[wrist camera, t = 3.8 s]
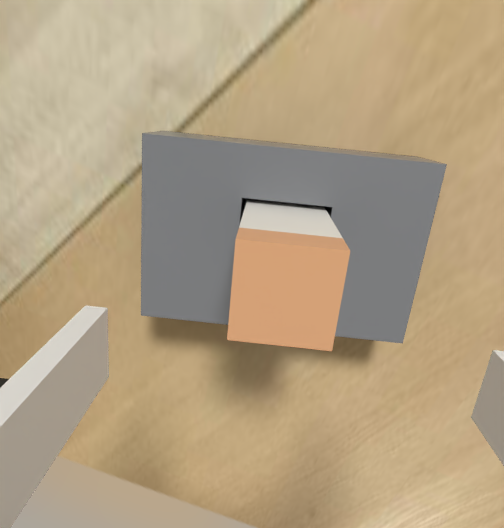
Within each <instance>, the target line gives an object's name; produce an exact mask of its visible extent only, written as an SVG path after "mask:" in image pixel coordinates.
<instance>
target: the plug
mask: <svg viewBox="0 0 504 528" xmlns="http://www.w3.org/2000/svg"><path fill="white" fill-rule="evenodd" d="M349 256H350V249H349V248H348V246H347V244H346V243H345V241H344V239H343V237H342V236H341V234H340V232H339V231H338V229H337V227H336V226H335V224H334V222H333V221H332V219H331V217H330V216H329V214H328V212H327V211H326V209H325V207H324V206H317V205H307V204H298V203H288V202H278V201H269V200H259V199H249V198H248V199H247V202H246V206H245V209H244V212H243V216H242V219H241V222H240V226H239V229H238V233H237V236H236V240H235V252H234V263H233V275H232V287H231V298H230V310H229V322H228V334H227V340H232V341H241V342H251V343H260V344H269V345H279V346H288V347H297V348H307V349H316V350H325V351H332V349H333V343H334V338H335V332H336V327H337V322H338V316H339V311H340V305H341V300H342V294H343V289H344V283H345V278H346V272H347V267H348V262H349Z"/></svg>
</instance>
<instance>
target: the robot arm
mask: <svg viewBox="0 0 504 528" xmlns="http://www.w3.org/2000/svg"><path fill="white" fill-rule="evenodd" d="M108 377H109V362H108V308H104V307H94V306H84V307H83V308H82V309H81V310H80V311H79V312H78V313H77V314H76V315H75V316H74V317H73V318H72V319H71V320H70V321H69V322H68V323H67V324H66V325H65V326H64V327H63V328H62V329H61V330H60V331H59V332H57V333H56V334H55V335H54V336H53V337H52V338H51V339H50V340H49V341H48V342H47V343H46V344H45V345H44V346H43V347H42V348H41V349H40V350H39V351H38V352H37V353H36V354H35V355H34V356H33V357H32V358H31V359H30V360H29V361H28V362H26V363H25V364H24V365H23V366H22V367H21V368H20V369H19V370H18V371H17V372H16V373H15V374H14V375H13V376H12V377H11V378H10V379H4V378H0V528H11V526H12V525H13V523H14V522H15V520H16V519H17V517H18V516H19V514H20V512H21V511H22V509H23V508H24V506H25V505H26V503H27V502H28V500H29V499H30V497H31V496H32V494H33V492H34V491H35V489H36V488H37V486H38V485H39V483H40V481H41V480H42V479H43V477H44V476H45V474H46V473H47V471H48V470H49V468H50V466H51V465H52V463H53V462H54V460H55V459H56V457H57V456H58V454H59V453H60V451H61V450H62V448H63V446H64V445H65V443H66V442H67V440H68V439H69V437H70V436H71V434H72V433H73V431H74V430H75V428H76V426H77V425H78V423H79V422H80V420H81V419H82V417H83V416H84V414H85V413H86V411H87V410H88V408H89V406H90V405H91V403H92V402H93V400H94V399H95V397H96V396H97V394H98V393H99V391H100V390H101V388H102V386H103V385H104V383H105V382H106V380H107V379H108ZM471 418H472V419H473V421H474V422H475V424H476V425H477V427H478V428H479V430H480V431H481V433H482V434H483V436H484V437H485V439H486V440H487V442H488V443H489V445H490V446H491V448H492V449H493V451H494V452H495V454H496V455H497V457H498V458H499V460H500V461H501V463H502V464H503V466H504V351H497V350H493V351H492V354H491V357H490V360H489V363H488V366H487V370H486V373H485V376H484V379H483V382H482V385H481V388H480V391H479V394H478V397H477V401H476V404H475V407H474V410H473V413H472V416H471Z"/></svg>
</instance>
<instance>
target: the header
mask: <svg viewBox="0 0 504 528" xmlns="http://www.w3.org/2000/svg"><path fill="white" fill-rule="evenodd" d="M446 165H447V164H443V163H440V162H436V161H432V160H428V159H424V158H421V157H415V156H405V155H395V154H385V153H375V152H366V151H356V150H346V149H336V148H326V147H317V146H307V145H297V144H287V143H277V142H268V141H258V140H248V139H238V138H228V137H219V136H209V135H199V134H189V133H179V132H169V131H157V132H149V133H142V246H141V315H142V316H151V317H161V318H170V319H179V320H189V321H198V322H208V323H217V324H226V325H228V322H229V310H230V298H231V287H232V275H233V263H234V252H235V240H236V236H237V233H238V229H239V226H240V222H241V219H242V216H243V212H244V209H245V206H246V202H247V199H248V198H249V199H259V200H269V201H278V202H288V203H298V204H307V205H317V206H324V207H325V209H326V211H327V212H328V214H329V216H330V217H331V219H332V221H333V222H334V224H335V226H336V227H337V229H338V231H339V232H340V234H341V236H342V237H343V239H344V241H345V243H346V244H347V246H348V248H349V249H350V256H349V262H348V267H347V272H346V278H345V283H344V289H343V294H342V300H341V305H340V311H339V316H338V322H337V327H336V332H335V336H339V337H348V338H358V339H367V340H376V341H386V342H395V343H403V339H404V335H405V331H406V327H407V323H408V319H409V315H410V311H411V307H412V303H413V299H414V295H415V291H416V287H417V283H418V279H419V275H420V270H421V266H422V262H423V258H424V254H425V250H426V246H427V242H428V238H429V234H430V230H431V226H432V222H433V218H434V214H435V210H436V206H437V201H438V197H439V193H440V189H441V185H442V181H443V177H444V173H445V169H446Z"/></svg>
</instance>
